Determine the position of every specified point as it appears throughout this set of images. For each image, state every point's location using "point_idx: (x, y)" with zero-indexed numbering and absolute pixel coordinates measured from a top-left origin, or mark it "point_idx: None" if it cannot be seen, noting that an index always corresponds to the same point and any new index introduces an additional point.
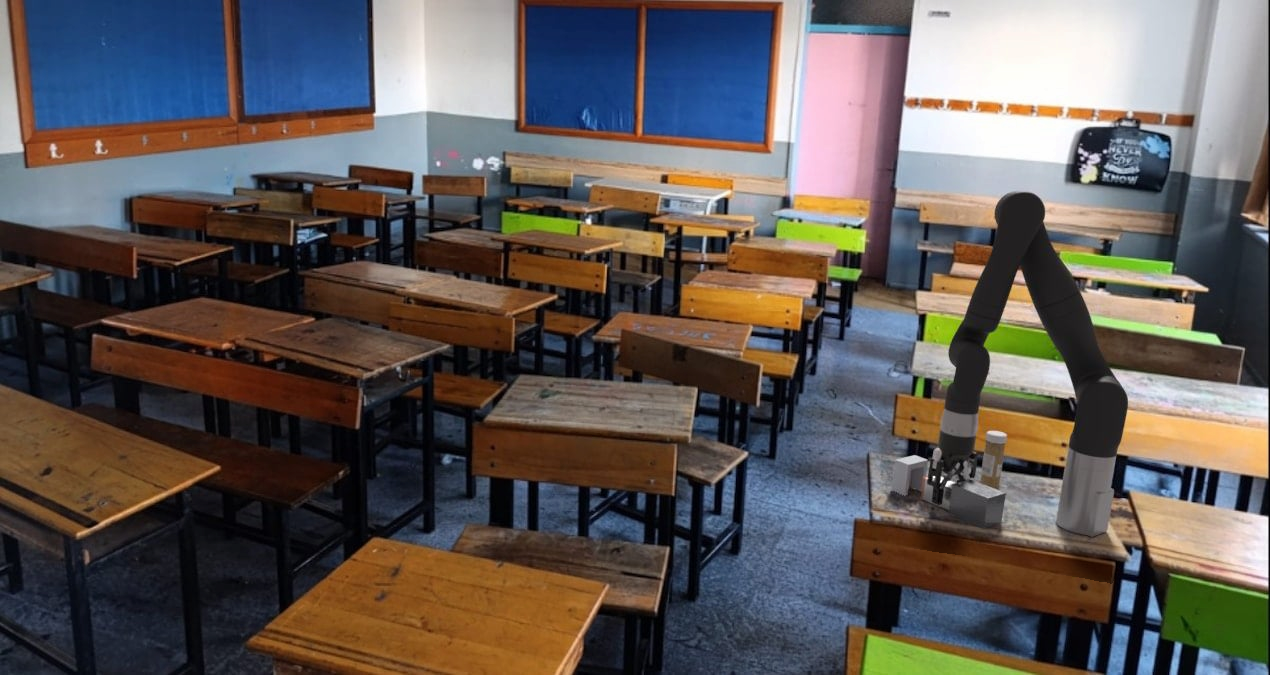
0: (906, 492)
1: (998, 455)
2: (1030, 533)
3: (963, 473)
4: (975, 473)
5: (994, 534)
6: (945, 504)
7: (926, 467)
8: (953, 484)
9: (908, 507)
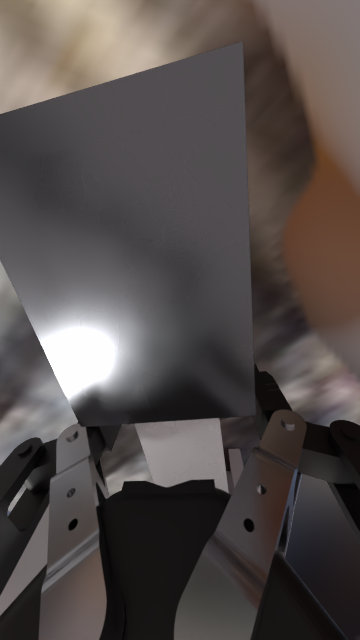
0: (234, 457)
1: None
2: (28, 33)
3: (95, 480)
4: (4, 461)
5: None
6: None
7: None
8: (250, 412)
9: (298, 401)
